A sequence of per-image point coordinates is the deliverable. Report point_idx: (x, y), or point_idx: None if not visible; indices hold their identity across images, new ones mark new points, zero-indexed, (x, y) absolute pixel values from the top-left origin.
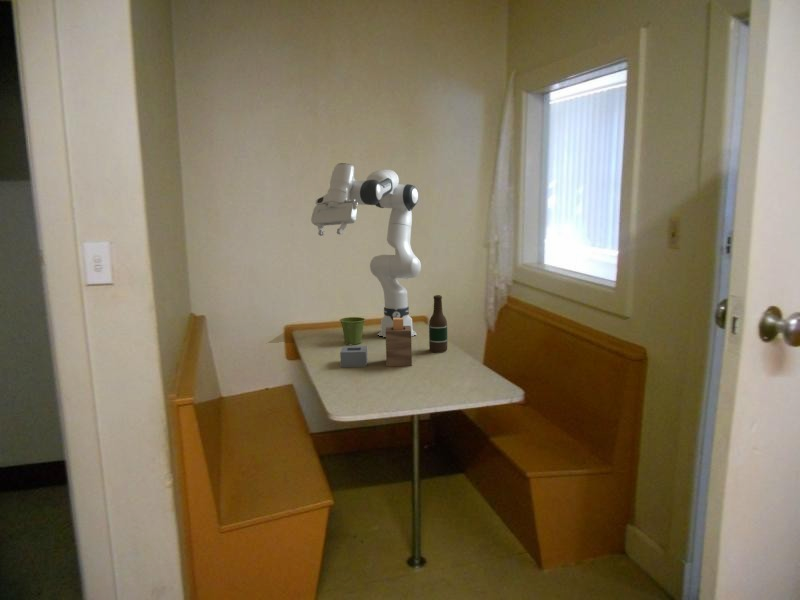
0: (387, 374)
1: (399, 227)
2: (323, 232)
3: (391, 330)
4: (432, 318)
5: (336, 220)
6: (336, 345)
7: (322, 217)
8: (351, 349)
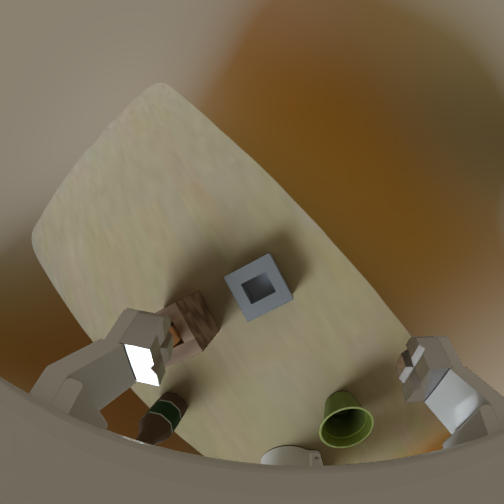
0: (173, 246)
1: None
2: (407, 383)
3: (169, 315)
4: (154, 425)
5: (120, 439)
6: (362, 379)
7: (499, 499)
8: (269, 294)
